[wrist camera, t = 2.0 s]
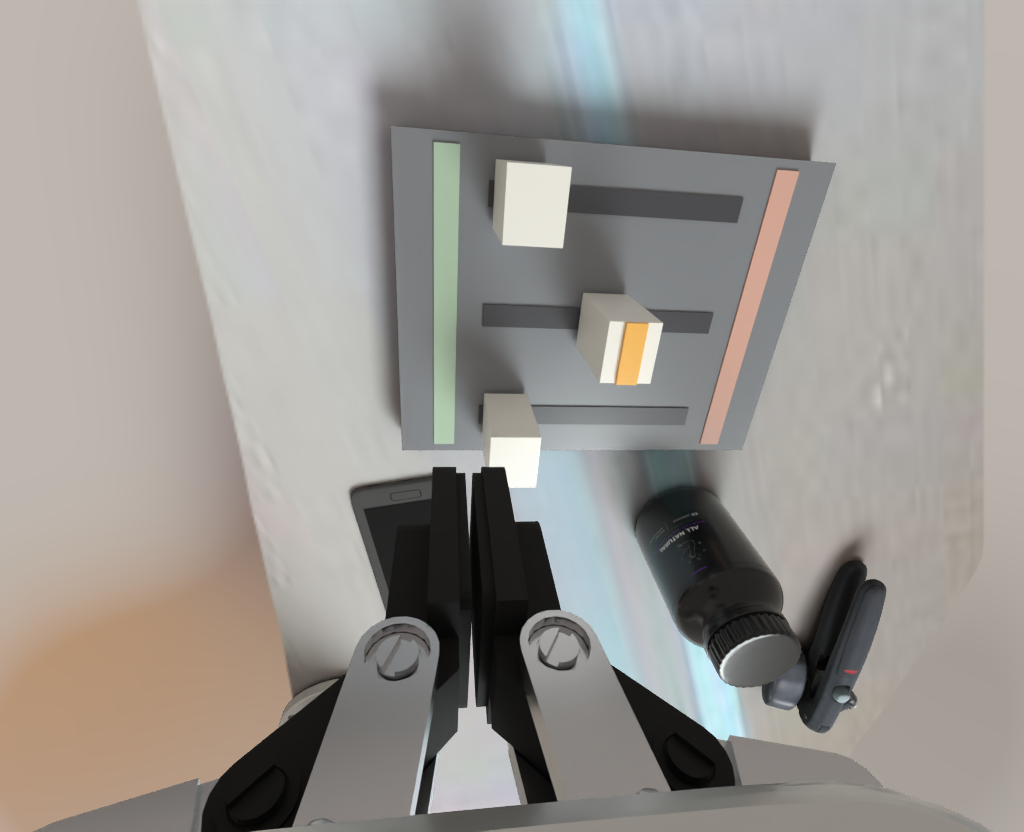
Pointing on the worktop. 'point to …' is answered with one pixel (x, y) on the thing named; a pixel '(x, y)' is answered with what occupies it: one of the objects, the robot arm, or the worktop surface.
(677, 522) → the supplement bottle
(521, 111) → the worktop surface
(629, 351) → the handle
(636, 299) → the breaker board
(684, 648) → the worktop surface
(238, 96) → the worktop surface
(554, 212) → the block
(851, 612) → the can opener
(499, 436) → the block
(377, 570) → the cell phone
